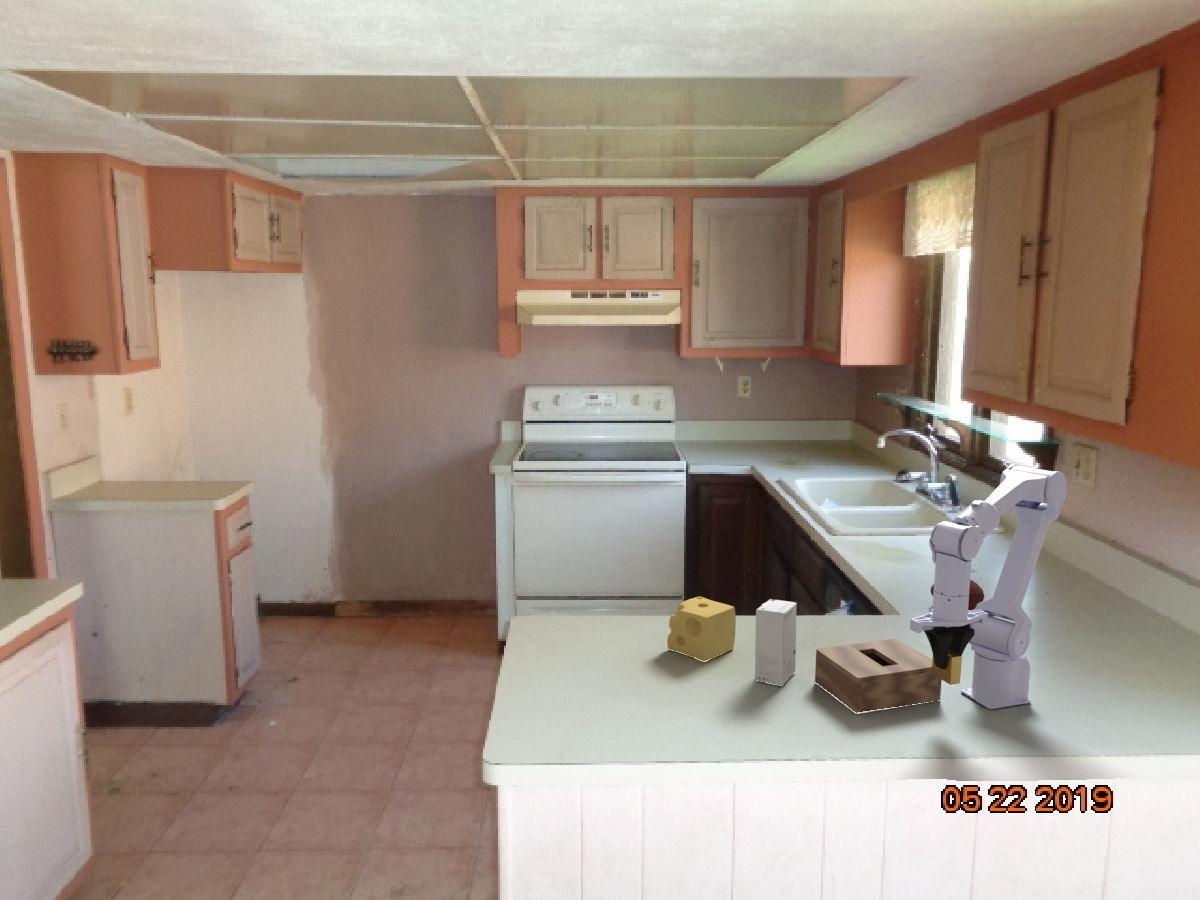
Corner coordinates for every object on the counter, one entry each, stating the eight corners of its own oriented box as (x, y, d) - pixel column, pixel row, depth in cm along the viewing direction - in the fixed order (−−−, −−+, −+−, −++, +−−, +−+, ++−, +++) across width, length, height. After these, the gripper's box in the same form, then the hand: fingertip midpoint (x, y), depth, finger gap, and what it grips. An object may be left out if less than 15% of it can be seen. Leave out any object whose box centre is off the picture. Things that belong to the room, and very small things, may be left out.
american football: (989, 619, 210) (992, 584, 209) (941, 618, 211) (943, 584, 209) (970, 602, 222) (973, 569, 220) (924, 602, 222) (926, 569, 221)
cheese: (666, 650, 192) (667, 605, 190) (699, 637, 199) (699, 593, 198) (705, 664, 185) (706, 618, 183) (737, 650, 192) (738, 605, 190)
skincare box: (782, 688, 173) (785, 614, 171) (752, 681, 176) (754, 609, 174) (796, 672, 181) (798, 601, 178) (767, 666, 183) (769, 596, 181)
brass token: (941, 671, 161) (942, 645, 160) (959, 683, 156) (962, 656, 155) (931, 673, 160) (933, 646, 159) (950, 684, 156) (952, 657, 155)
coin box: (894, 671, 181) (896, 638, 180) (940, 701, 168) (942, 665, 167) (814, 683, 176) (816, 649, 174) (856, 714, 162) (857, 678, 161)
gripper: (970, 580, 162) (965, 652, 164) (901, 588, 157) (896, 662, 160) (998, 592, 155) (992, 667, 157) (927, 601, 151) (922, 678, 153)
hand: (946, 666), depth 158 cm, fingers closed on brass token, 2 cm apart
